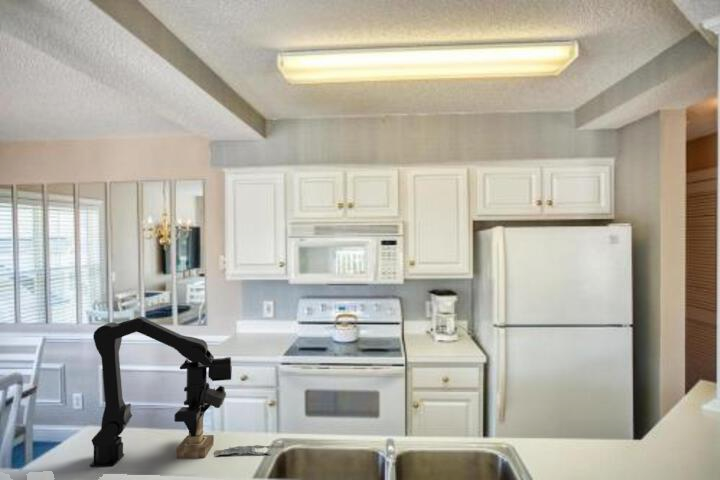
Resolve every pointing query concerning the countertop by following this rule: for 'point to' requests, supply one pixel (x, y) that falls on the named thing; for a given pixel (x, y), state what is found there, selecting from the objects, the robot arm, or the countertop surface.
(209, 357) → the robot arm
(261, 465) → the countertop surface
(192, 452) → the board
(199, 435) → the peg
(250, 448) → the driftwood
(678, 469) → the countertop surface
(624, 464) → the countertop surface
